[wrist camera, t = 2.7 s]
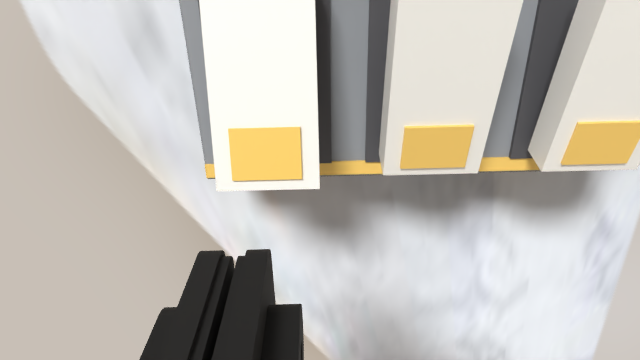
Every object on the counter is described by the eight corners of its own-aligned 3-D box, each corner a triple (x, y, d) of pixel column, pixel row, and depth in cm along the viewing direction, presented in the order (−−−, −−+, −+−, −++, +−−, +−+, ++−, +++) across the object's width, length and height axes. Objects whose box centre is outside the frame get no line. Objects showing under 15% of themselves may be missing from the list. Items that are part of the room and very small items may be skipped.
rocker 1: (207, -21, 15) (195, -28, 14) (314, -23, 15) (314, -32, 14) (224, 180, 17) (215, 192, 15) (319, 177, 17) (319, 189, 15)
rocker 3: (591, -38, 14) (617, -23, 12) (710, -41, 14) (748, -26, 12) (527, 149, 18) (542, 173, 17) (617, 147, 18) (638, 171, 17)
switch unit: (201, -60, 19) (167, -61, 15) (627, -71, 19) (717, -75, 15) (227, 143, 23) (207, 187, 19) (573, 135, 23) (630, 177, 19)
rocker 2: (393, -33, 14) (400, -17, 12) (512, -36, 14) (530, -21, 12) (378, 153, 18) (383, 177, 17) (467, 151, 18) (478, 175, 17)
